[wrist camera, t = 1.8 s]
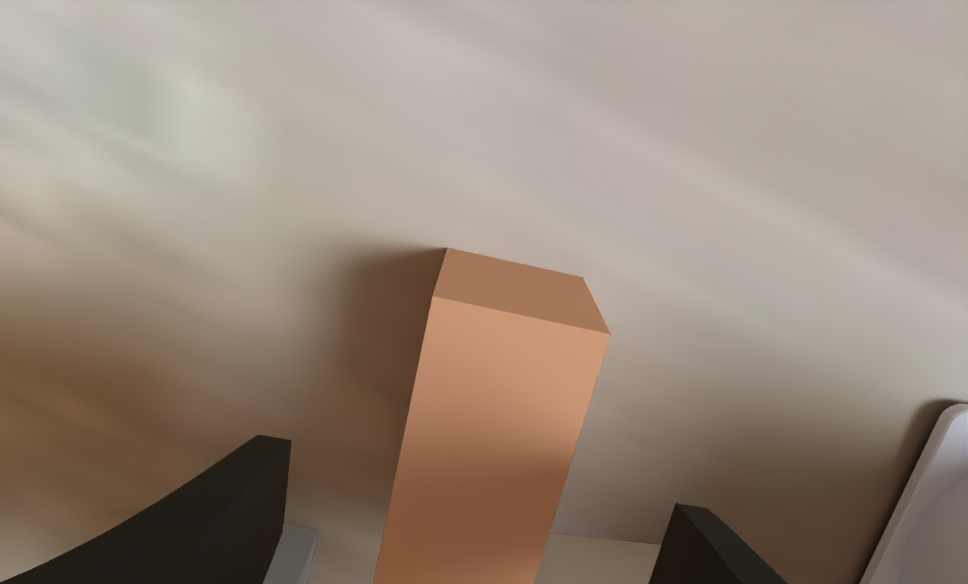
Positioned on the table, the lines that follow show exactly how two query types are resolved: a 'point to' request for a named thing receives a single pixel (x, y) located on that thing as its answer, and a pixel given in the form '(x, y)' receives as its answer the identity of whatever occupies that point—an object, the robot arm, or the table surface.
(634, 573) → the grey brick
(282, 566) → the slate brick
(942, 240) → the table surface
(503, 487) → the terracotta brick
